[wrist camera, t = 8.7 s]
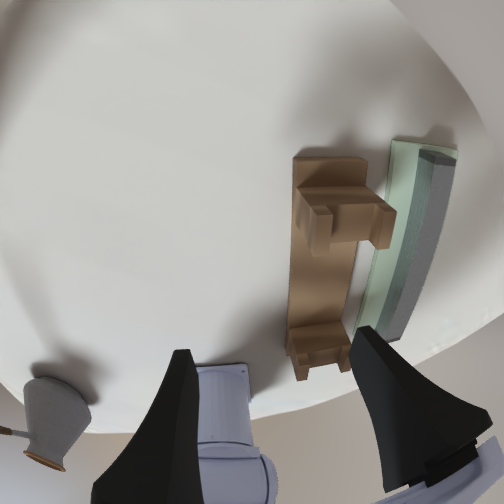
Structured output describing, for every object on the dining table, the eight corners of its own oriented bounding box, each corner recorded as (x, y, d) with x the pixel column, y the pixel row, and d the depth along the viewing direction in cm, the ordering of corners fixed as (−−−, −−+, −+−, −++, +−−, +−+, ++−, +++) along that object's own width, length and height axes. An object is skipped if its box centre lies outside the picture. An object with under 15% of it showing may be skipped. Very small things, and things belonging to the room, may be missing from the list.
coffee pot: (107, 411, 34) (97, 495, 21) (56, 405, 33) (41, 477, 21) (25, 316, 22) (-23, 431, 9) (-22, 317, 22) (-63, 404, 9)
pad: (404, 321, 28) (406, 325, 28) (352, 334, 28) (354, 338, 27) (453, 148, 18) (458, 150, 17) (391, 139, 17) (396, 141, 17)
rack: (330, 341, 28) (345, 380, 24) (285, 348, 28) (295, 390, 23) (361, 158, 18) (402, 182, 13) (292, 157, 17) (318, 182, 13)
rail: (392, 327, 27) (399, 339, 26) (374, 331, 27) (381, 344, 26) (440, 151, 17) (456, 159, 15) (419, 149, 17) (435, 156, 15)
